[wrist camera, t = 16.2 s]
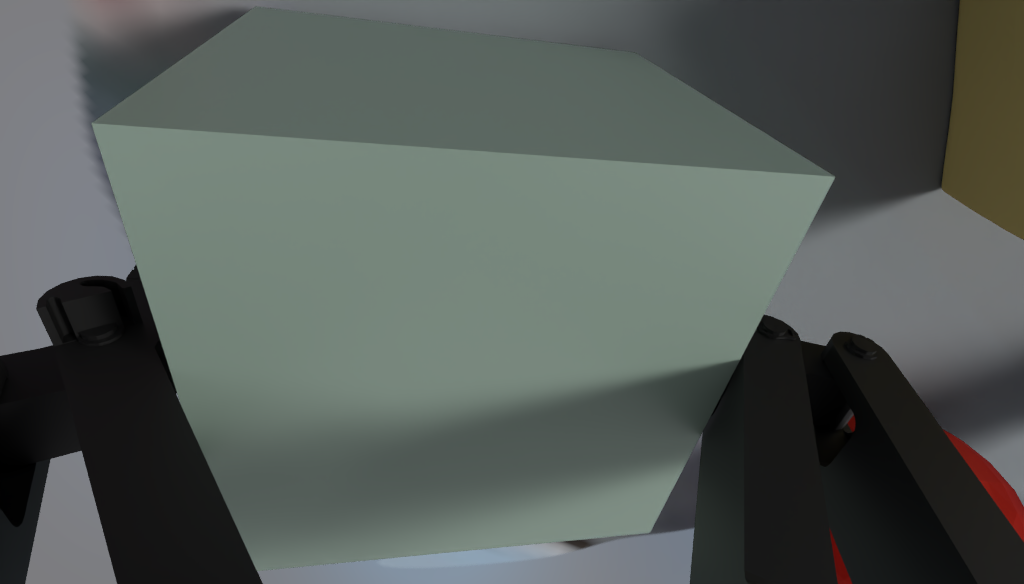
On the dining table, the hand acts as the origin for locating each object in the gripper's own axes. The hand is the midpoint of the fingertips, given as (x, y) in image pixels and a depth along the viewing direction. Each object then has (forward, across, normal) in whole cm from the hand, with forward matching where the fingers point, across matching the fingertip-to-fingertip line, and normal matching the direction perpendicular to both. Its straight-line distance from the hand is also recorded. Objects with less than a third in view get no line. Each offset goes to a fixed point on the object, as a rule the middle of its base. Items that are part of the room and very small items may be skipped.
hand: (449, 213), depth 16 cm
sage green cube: (+1, 0, 0) cm, 1 cm away
